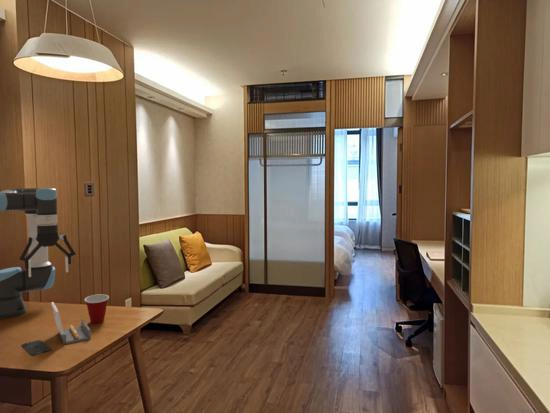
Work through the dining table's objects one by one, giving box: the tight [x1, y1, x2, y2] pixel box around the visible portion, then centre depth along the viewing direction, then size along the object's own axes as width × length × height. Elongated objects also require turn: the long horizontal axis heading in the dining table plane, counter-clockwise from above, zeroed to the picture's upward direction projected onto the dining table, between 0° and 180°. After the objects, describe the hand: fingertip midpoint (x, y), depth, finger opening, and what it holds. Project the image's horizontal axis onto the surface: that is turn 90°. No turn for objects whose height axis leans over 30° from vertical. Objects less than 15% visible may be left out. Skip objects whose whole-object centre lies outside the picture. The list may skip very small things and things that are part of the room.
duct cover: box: [50, 301, 64, 335], centre depth 159 cm, size 16×10×1 cm
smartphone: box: [21, 339, 53, 357], centre depth 151 cm, size 7×1×15 cm
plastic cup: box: [84, 293, 110, 325], centre depth 180 cm, size 11×11×12 cm
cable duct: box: [58, 319, 92, 345], centre depth 163 cm, size 16×10×4 cm, turn 37°
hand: (48, 274), depth 159 cm, fingers open, 13 cm apart
